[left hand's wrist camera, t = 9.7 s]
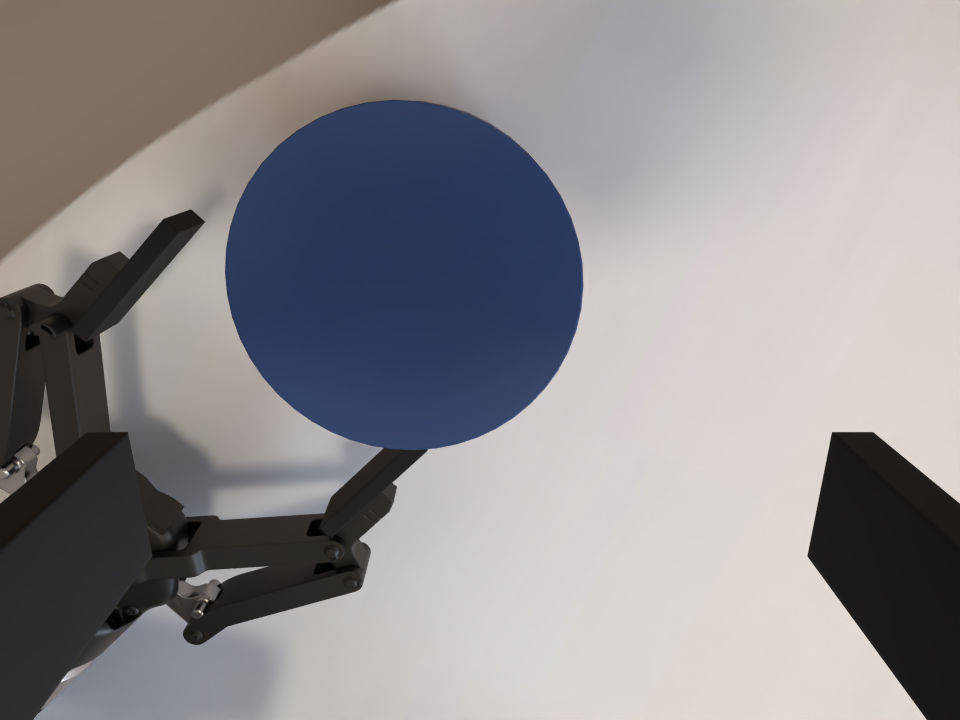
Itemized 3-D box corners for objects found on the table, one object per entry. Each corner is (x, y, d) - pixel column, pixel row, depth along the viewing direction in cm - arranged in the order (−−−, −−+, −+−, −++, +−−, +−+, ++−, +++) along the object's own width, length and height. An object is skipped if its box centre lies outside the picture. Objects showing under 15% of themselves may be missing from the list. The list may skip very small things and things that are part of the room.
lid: (180, 250, 19) (148, 265, 17) (429, 20, 17) (423, 10, 15) (397, 475, 21) (389, 507, 20) (638, 298, 19) (653, 317, 18)
